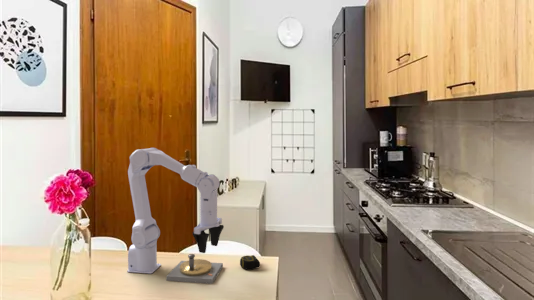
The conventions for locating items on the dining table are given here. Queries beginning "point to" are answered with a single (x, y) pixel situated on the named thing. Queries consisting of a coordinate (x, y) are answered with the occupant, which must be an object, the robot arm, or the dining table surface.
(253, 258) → the tape measure
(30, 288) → the dining table surface
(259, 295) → the dining table surface
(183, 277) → the stand
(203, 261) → the brass disc with crank
